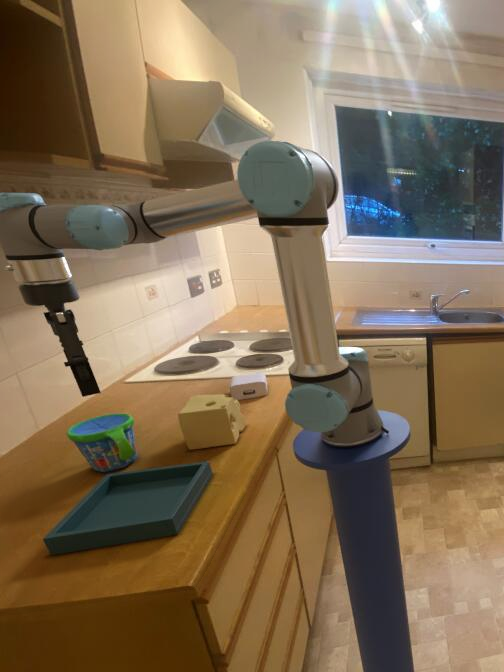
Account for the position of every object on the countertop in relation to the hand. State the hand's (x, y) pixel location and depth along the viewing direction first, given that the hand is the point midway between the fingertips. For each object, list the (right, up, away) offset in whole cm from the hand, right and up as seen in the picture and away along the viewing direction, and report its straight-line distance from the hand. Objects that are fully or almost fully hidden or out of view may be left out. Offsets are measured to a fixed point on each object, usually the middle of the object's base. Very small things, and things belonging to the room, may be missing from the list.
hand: (87, 385), depth 90 cm
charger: (+6, -2, +46) cm, 47 cm away
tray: (+18, -24, -8) cm, 31 cm away
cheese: (+15, -13, +18) cm, 27 cm away
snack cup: (0, -18, +7) cm, 19 cm away
